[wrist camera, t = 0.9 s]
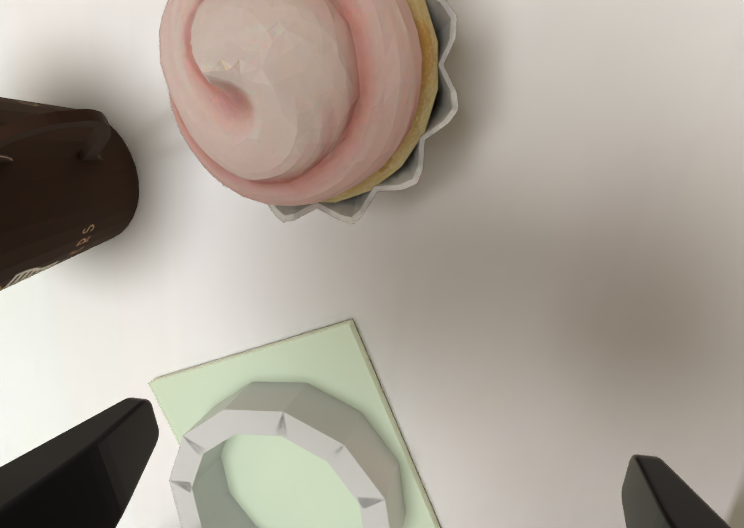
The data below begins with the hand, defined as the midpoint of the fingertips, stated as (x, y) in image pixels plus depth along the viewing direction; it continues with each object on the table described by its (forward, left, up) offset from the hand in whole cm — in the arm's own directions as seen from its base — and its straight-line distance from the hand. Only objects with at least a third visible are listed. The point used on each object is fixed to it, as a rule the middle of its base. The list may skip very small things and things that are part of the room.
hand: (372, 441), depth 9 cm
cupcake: (+8, +1, -12) cm, 15 cm away
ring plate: (-8, +11, -12) cm, 18 cm away
